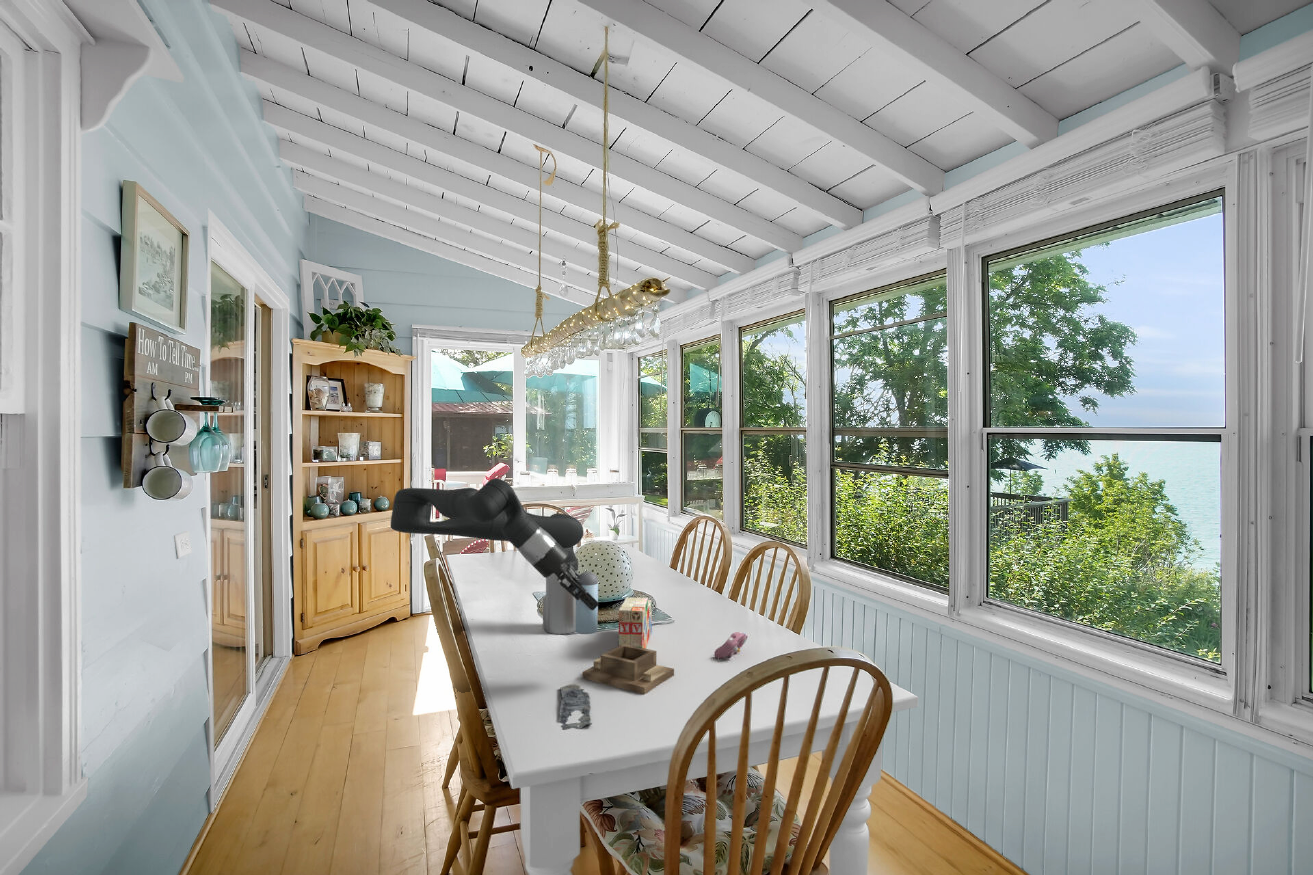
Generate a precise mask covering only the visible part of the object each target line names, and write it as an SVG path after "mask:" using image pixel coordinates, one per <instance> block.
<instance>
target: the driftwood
mask: <svg viewBox="0 0 1313 875" xmlns="http://www.w3.org/2000/svg"><path fill="white" fill-rule="evenodd" d="M560 689H561V690H560V692H561V697H560V702H561V703H560V709H559V718H558V721H557V724H561V725H560V728H561V729H562V730H570V729H572V728H573V729H575V730H578V729H582V728H584V727H585V726H589V725H593V723H592V722H591V719H592V718H591V715H590V714H591V713H590V711H591V701H590V699H591V698H590V694H589V692H587V691H585V689H583V688H581V685H578V684H574V683H572V684H566V685H563V686H562V687H560ZM575 711H576V712H577V711H579V712H581V713H582V715H581V716H580V717H579V718H578V719H577V721H578V722H572V723H567V722H568V721H569V716H570V717H572V713H573V712H575ZM583 714H584V715H583Z"/></svg>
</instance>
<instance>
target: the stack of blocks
mask: <svg viewBox="0 0 1313 875" xmlns="http://www.w3.org/2000/svg"><path fill="white" fill-rule="evenodd" d="M652 615H653V613H652V600H651V599H649V598H648V597H625V598H624V602H623V603H622V604H621V606H620V607H619V610H618V646H620V645H622V644H626V645H631V646H635V647H640V648H644V649H647V647H648V643H649V640H650V638H651V635H652V630H653V627H652V626H653V625H652V624H653V623H652V622H653V620H652V618H653V616H652Z"/></svg>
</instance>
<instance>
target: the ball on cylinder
mask: <svg viewBox="0 0 1313 875" xmlns="http://www.w3.org/2000/svg"><path fill="white" fill-rule="evenodd" d="M578 578H579V579H580V580H581V581H582V586H583V587H584V588H585V589H586V590H587V592H588V593H589V594H590V595H591V596H592V597H593V598H594V599H595V600H596V601H597V602H598V603H599V579H598V576H597V575H596V574H595V573H594V572H591V571H583V572H581V573H579V576H578ZM576 583H577V582H576ZM579 591H580V590H579V589H578V588H577V589H576V592H577V593H578V592H579ZM598 611H599V605H598V606H597V607H596V608H595V609H594V610H591V609H590V608H589V607H588V606H587V605H586V604H585V603H584V602H583V601H581V600H576V626H575V631H574V632H575V633H577V634H581V635H590V634H591V635H593V634H595V633H598V621H599V620H598Z"/></svg>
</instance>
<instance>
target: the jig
mask: <svg viewBox="0 0 1313 875" xmlns="http://www.w3.org/2000/svg"><path fill="white" fill-rule="evenodd" d="M674 676H675V668H674V667H668V666H664V665H659V664H657V650H652V649H650V648H649V649H647V648H646V649H644V648H640V647H635V646H631V645H626V644H622V645H620V646H619V645H618V646H617V647H615V648H613V649H611V650H609V651H606V652H605V653H602V654H601V655H600V657H599V658H597V659H595V660H593V665H592V667H590V668H587V669H585V670H584V671H582V679H584V680H588V681H592V682H595V683H598V684H599V683H600V684H603V685H608V686H611V687H614V686H615V688H619V689H622V688H623V690H626V691H630V692H633V693H636V694H637V693H638V694H641V695H646V694H648V692H651V691H652V690H653V689H655V688H657V687H658V686H660V685H661V684H663V683H665V682H666V681H667V680H668V679H671V678H672V677H674ZM656 686H657V687H656Z"/></svg>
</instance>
